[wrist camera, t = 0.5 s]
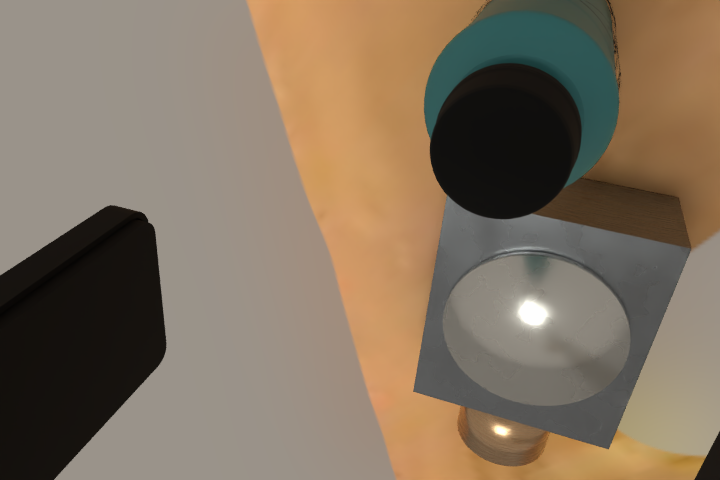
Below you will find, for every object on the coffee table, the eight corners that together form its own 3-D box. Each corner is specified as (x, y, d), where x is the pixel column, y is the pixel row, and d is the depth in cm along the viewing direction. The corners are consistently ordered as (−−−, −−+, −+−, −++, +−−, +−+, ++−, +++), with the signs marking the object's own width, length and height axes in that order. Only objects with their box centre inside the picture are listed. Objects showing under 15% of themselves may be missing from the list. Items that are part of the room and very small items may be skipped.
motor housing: (591, 425, 45) (590, 499, 39) (426, 377, 47) (403, 440, 42) (678, 197, 35) (692, 253, 30) (467, 154, 38) (445, 199, 33)
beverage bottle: (504, 101, 36) (420, 285, 19) (472, -18, 34) (346, 76, 17) (626, 69, 33) (652, 252, 17) (602, -63, 31) (602, -3, 14)
